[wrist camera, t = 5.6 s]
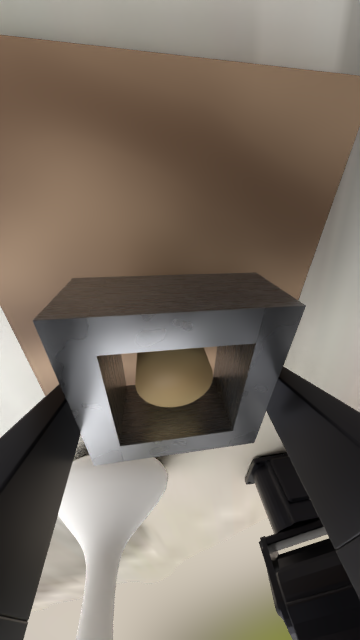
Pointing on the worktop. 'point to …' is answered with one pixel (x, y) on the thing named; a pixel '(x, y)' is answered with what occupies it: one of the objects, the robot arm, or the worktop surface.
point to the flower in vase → (107, 527)
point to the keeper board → (160, 181)
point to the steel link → (167, 334)
